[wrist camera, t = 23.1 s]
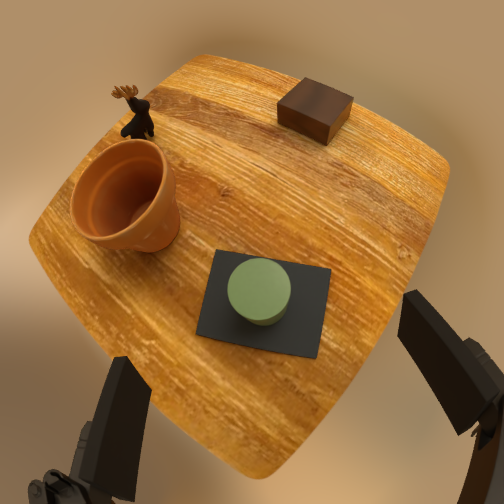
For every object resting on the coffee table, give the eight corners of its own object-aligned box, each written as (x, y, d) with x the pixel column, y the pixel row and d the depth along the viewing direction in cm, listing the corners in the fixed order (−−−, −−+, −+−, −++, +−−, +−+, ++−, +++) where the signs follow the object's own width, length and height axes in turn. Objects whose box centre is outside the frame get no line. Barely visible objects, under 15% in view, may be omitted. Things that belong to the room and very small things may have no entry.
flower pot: (149, 290, 38) (97, 266, 25) (103, 232, 42) (56, 196, 29) (216, 221, 40) (191, 171, 28) (161, 173, 44) (130, 124, 32)
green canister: (291, 284, 36) (295, 263, 26) (282, 329, 34) (284, 325, 24) (246, 276, 36) (235, 253, 27) (236, 320, 35) (221, 313, 25)
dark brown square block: (349, 116, 45) (353, 97, 40) (326, 146, 43) (330, 126, 38) (304, 95, 47) (305, 77, 43) (277, 122, 45) (276, 102, 41)
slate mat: (330, 270, 36) (331, 268, 36) (315, 358, 33) (316, 358, 32) (216, 250, 39) (216, 249, 38) (196, 334, 35) (195, 334, 35)
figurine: (171, 137, 47) (143, 78, 32) (142, 161, 45) (105, 106, 31) (145, 118, 50) (117, 66, 35) (119, 139, 48) (85, 90, 34)
